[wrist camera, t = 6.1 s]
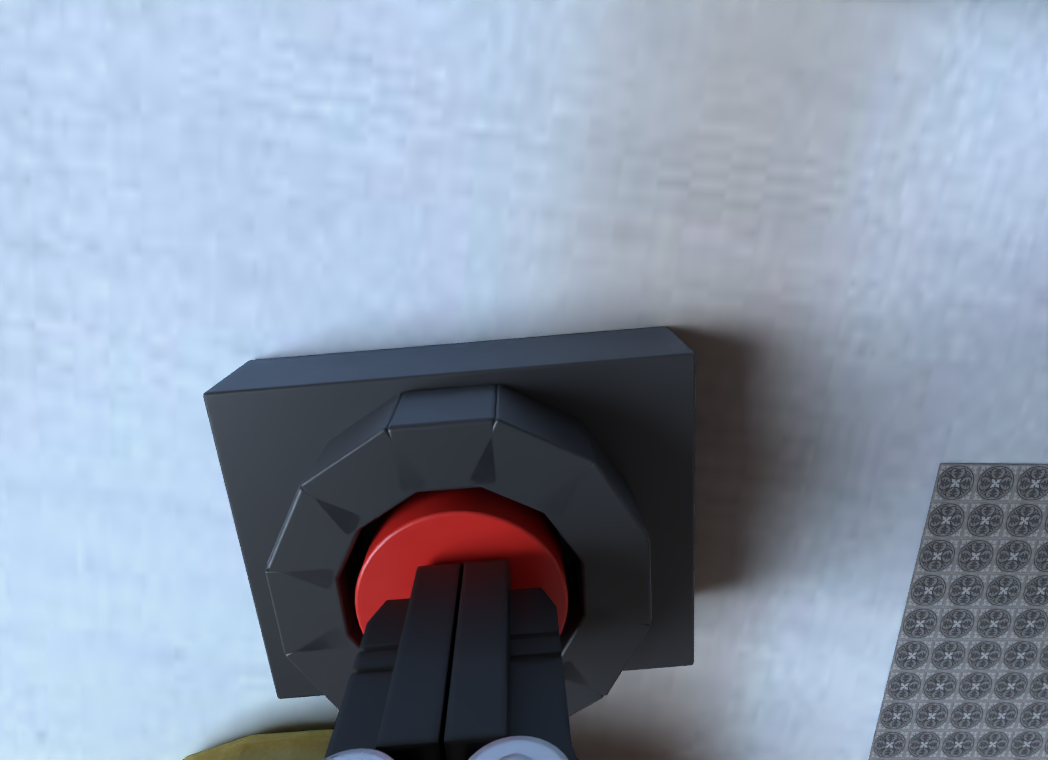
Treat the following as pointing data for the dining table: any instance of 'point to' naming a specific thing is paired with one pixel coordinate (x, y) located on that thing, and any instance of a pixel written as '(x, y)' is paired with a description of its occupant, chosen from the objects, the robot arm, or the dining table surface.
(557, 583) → the red push button
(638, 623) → the button box
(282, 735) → the food
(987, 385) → the dining table surface
